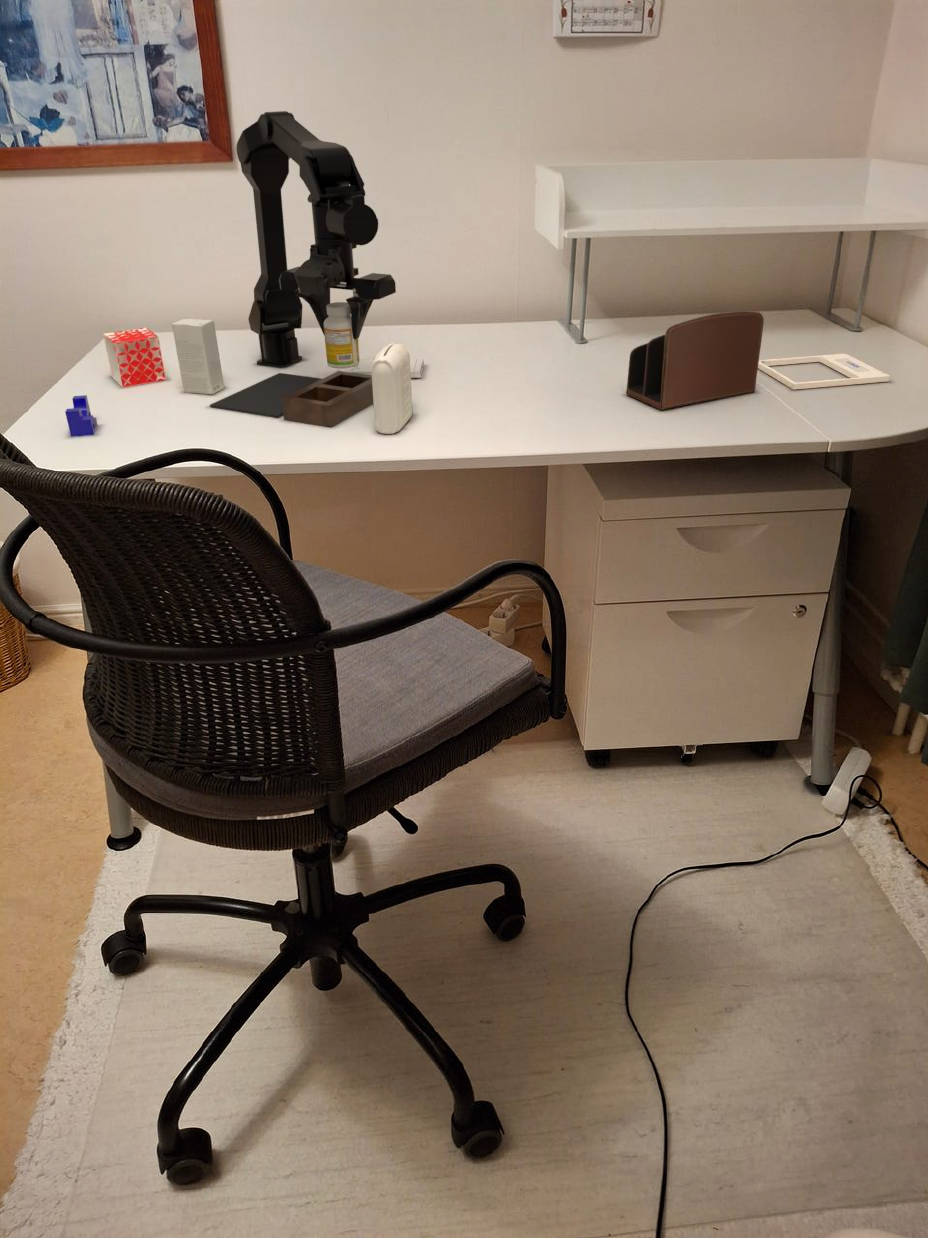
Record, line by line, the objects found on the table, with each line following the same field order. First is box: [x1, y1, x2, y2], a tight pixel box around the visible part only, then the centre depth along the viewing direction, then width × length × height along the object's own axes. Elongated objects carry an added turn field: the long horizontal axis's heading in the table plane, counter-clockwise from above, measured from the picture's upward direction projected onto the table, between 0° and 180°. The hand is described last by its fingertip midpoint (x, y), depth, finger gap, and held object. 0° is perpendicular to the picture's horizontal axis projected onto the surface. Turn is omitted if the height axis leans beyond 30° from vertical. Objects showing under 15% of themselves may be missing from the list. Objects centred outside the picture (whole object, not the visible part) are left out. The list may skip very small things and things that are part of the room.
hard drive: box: [351, 358, 425, 379], centre depth 177 cm, size 2×8×12 cm
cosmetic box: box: [171, 317, 225, 395], centre depth 167 cm, size 6×4×12 cm
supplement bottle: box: [323, 301, 360, 369], centre depth 158 cm, size 5×5×10 cm
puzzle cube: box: [102, 327, 167, 388], centre depth 175 cm, size 8×8×8 cm
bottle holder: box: [282, 370, 374, 428], centre depth 160 cm, size 9×17×4 cm, turn 154°
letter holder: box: [625, 311, 765, 411], centre depth 160 cm, size 10×20×14 cm, turn 117°
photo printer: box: [372, 342, 413, 435], centre depth 150 cm, size 10×4×12 cm, turn 168°
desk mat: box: [209, 372, 322, 419], centre depth 167 cm, size 14×20×1 cm
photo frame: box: [758, 353, 891, 390], centre depth 171 cm, size 15×1×18 cm
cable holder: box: [64, 394, 99, 437], centre depth 154 cm, size 8×4×4 cm, turn 10°
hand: (341, 336), depth 158 cm, fingers closed on supplement bottle, 5 cm apart
